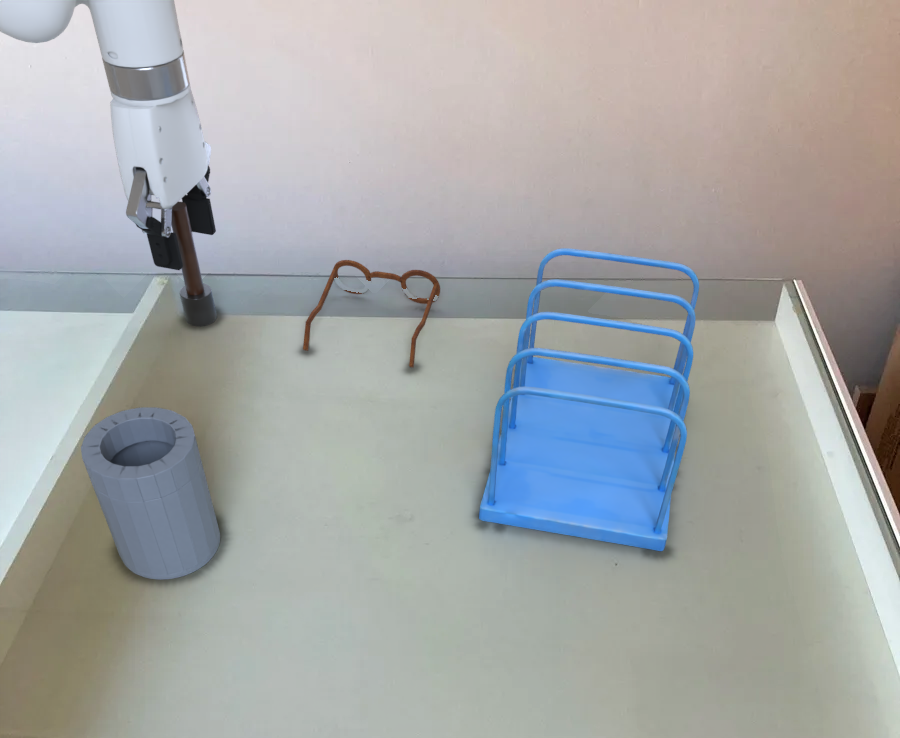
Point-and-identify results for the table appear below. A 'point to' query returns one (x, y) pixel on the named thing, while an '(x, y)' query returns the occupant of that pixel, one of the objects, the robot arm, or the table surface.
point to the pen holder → (152, 491)
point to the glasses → (368, 277)
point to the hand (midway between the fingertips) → (186, 248)
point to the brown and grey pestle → (191, 273)
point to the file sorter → (590, 428)
